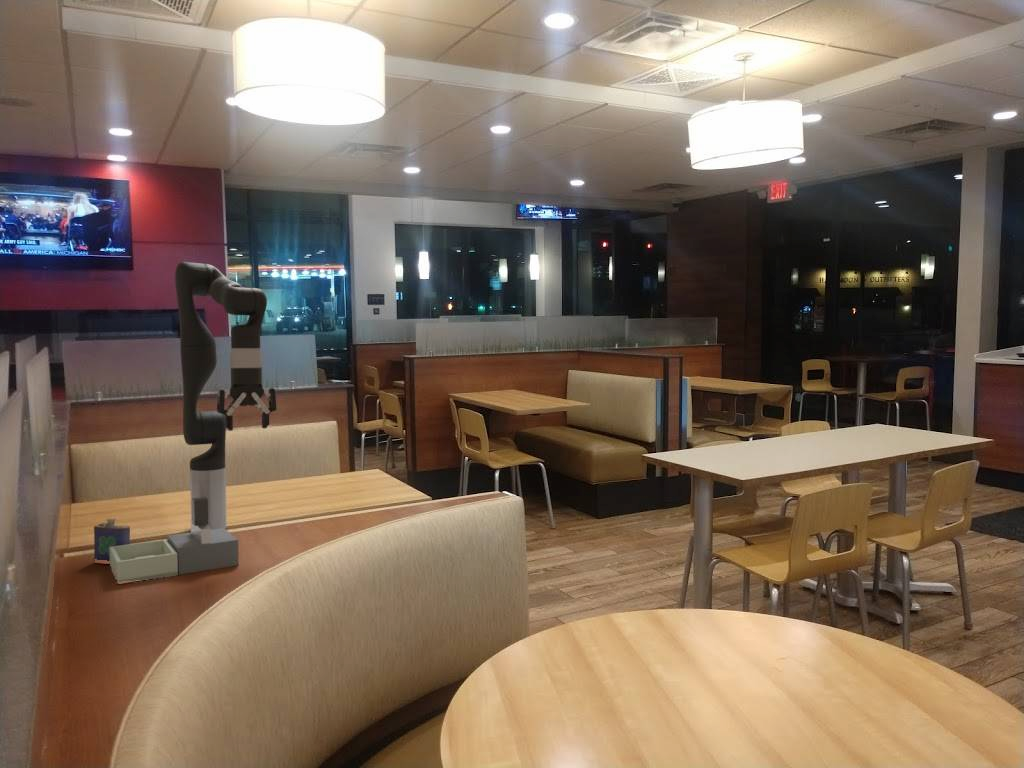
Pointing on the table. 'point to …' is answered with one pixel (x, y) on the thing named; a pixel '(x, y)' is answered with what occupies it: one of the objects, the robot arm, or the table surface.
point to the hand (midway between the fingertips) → (247, 429)
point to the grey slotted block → (205, 551)
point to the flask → (109, 538)
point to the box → (143, 561)
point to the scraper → (200, 520)
